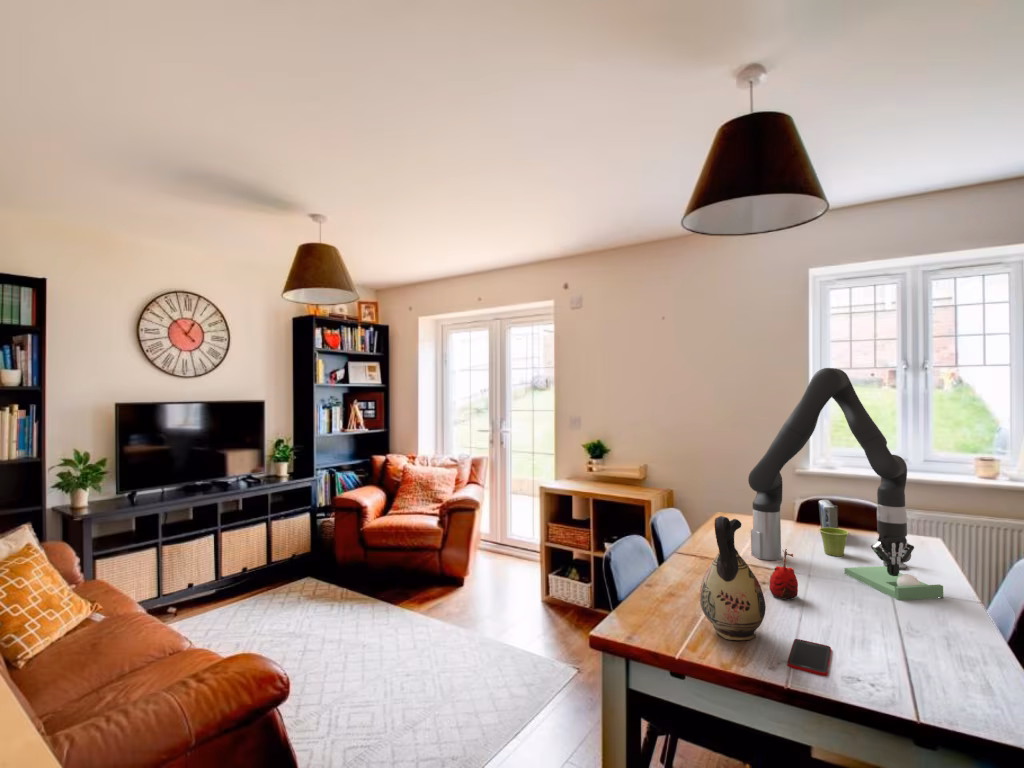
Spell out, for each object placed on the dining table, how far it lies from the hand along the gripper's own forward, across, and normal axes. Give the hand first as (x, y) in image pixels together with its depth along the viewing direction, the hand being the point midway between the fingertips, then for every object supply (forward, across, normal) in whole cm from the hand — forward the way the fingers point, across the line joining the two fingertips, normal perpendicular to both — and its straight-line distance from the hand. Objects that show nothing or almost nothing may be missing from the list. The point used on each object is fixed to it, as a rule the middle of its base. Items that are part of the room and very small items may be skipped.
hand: (893, 575), depth 161 cm
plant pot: (+4, +4, +32) cm, 32 cm away
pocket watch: (+4, +16, +17) cm, 23 cm away
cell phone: (+4, -53, -38) cm, 65 cm away
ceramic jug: (+4, -65, -25) cm, 70 cm away
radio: (+4, +18, +55) cm, 58 cm away
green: (+3, 0, +1) cm, 4 cm away
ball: (+1, 0, -6) cm, 6 cm away
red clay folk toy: (+4, -38, -4) cm, 39 cm away
